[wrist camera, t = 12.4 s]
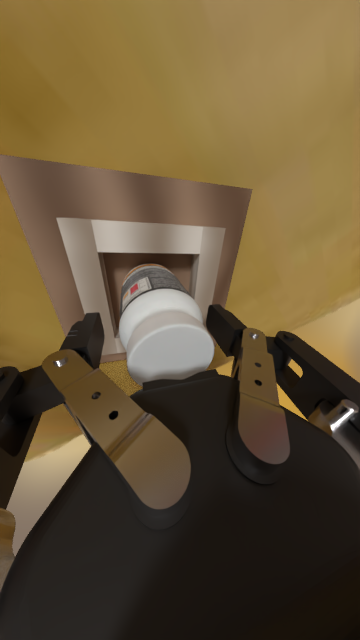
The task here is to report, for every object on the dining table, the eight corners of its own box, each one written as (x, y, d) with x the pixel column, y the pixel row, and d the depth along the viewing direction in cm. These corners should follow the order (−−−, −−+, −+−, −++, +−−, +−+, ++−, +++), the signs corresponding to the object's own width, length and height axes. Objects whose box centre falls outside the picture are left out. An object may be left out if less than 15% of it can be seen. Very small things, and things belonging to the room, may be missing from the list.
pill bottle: (108, 291, 15) (85, 374, 7) (151, 247, 14) (180, 288, 6) (151, 323, 18) (168, 406, 10) (188, 290, 17) (240, 352, 9)
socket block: (80, 357, 20) (72, 380, 17) (7, 160, 11) (-38, 139, 8) (211, 340, 25) (222, 356, 22) (242, 191, 15) (268, 185, 12)
